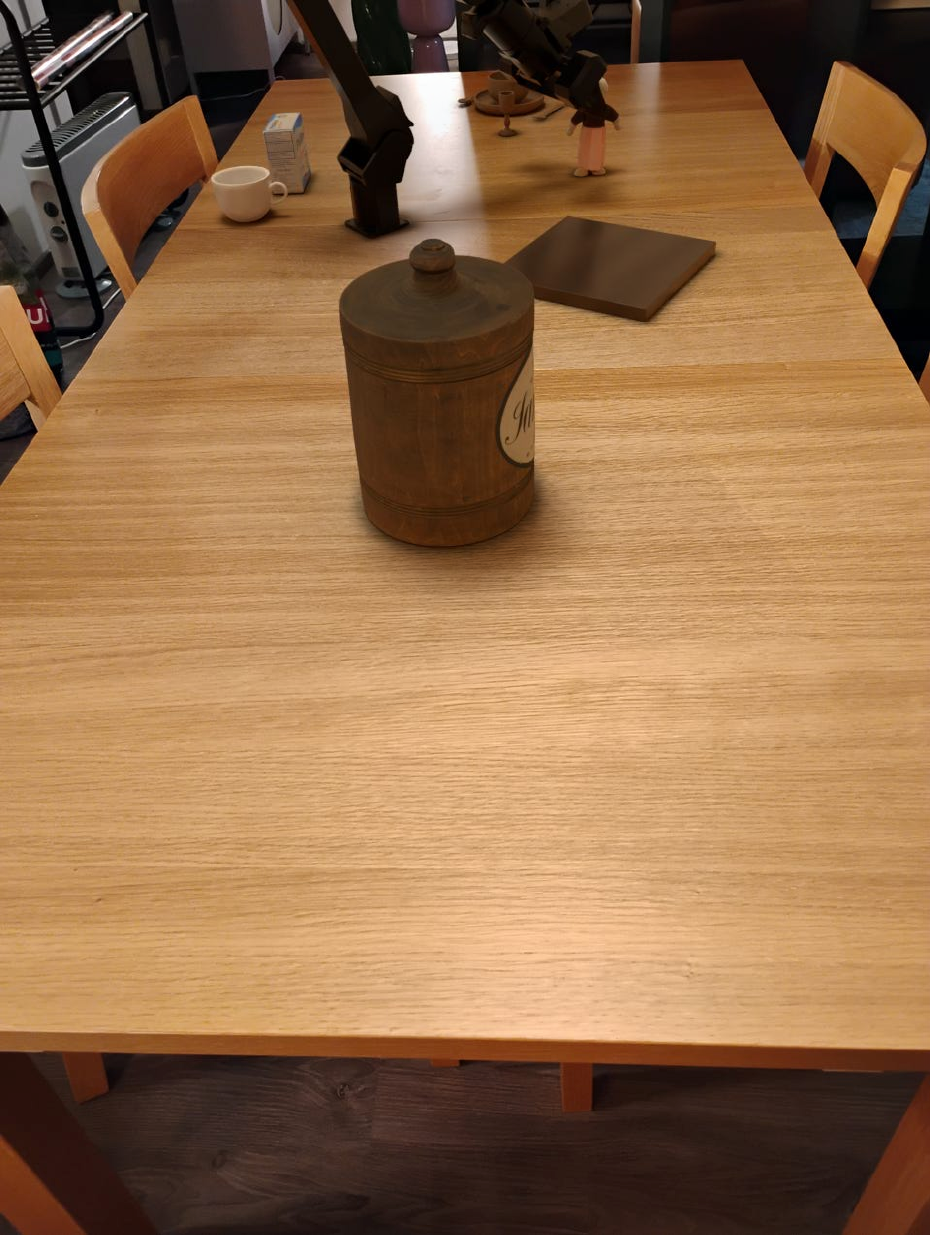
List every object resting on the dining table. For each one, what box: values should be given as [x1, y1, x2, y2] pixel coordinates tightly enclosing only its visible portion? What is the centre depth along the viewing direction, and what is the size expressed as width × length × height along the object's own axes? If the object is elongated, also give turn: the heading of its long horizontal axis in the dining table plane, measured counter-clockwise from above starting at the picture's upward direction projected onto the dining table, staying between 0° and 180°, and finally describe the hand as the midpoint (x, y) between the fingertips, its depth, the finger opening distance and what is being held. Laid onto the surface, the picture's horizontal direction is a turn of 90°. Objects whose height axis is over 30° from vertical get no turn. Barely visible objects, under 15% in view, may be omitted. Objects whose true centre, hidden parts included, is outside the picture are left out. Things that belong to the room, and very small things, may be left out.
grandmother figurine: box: [565, 77, 623, 177], centre depth 138 cm, size 8×4×13 cm, turn 105°
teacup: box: [210, 165, 289, 223], centre depth 135 cm, size 10×8×5 cm
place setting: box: [457, 70, 565, 137], centre depth 163 cm, size 18×20×6 cm
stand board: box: [502, 215, 717, 323], centre depth 117 cm, size 20×20×2 cm
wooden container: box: [338, 238, 536, 547], centre depth 78 cm, size 15×15×22 cm
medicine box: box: [262, 112, 312, 195], centre depth 142 cm, size 8×4×9 cm, turn 179°
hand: (587, 107), depth 136 cm, fingers open, 9 cm apart
